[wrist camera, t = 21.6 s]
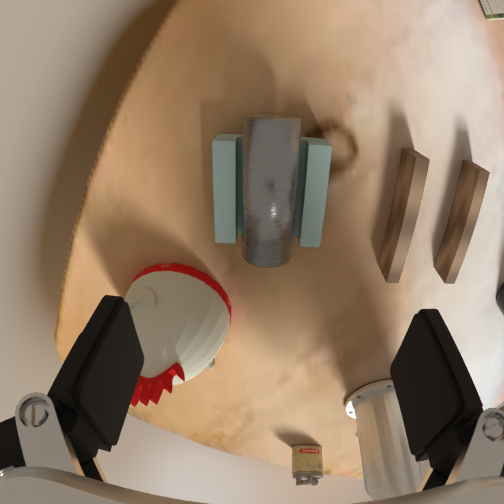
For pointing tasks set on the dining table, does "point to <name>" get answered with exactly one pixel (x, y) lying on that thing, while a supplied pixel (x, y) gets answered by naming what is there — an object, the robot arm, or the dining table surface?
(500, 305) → the supplement bottle
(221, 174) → the cradle
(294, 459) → the jerry can
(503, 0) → the syrup box
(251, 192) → the grey cylinder
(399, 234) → the wooden blocks
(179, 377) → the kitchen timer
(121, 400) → the robot arm
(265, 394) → the dining table surface
